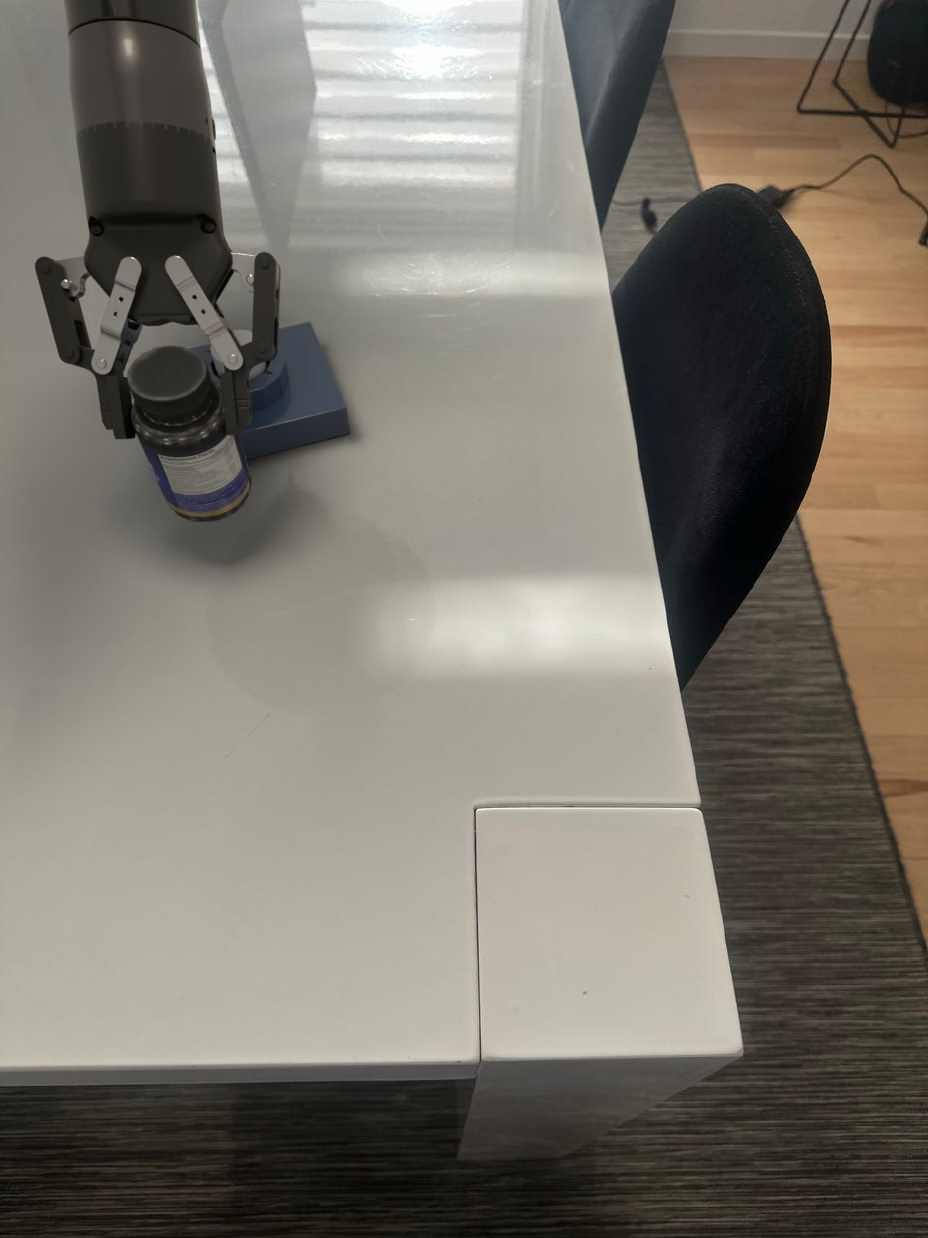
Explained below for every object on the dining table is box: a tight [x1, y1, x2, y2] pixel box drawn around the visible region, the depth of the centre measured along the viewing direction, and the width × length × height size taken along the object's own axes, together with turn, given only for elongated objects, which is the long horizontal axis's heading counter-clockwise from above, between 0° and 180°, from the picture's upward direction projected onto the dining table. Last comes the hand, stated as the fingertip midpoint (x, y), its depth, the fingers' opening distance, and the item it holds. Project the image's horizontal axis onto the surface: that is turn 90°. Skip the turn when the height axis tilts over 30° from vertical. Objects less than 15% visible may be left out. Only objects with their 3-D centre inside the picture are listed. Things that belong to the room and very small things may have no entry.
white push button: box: [210, 329, 267, 381], centre depth 66 cm, size 4×4×2 cm
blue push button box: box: [188, 321, 350, 460], centre depth 69 cm, size 14×11×5 cm
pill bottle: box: [126, 345, 253, 523], centre depth 54 cm, size 6×6×11 cm
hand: (181, 435), depth 52 cm, fingers closed on pill bottle, 6 cm apart
